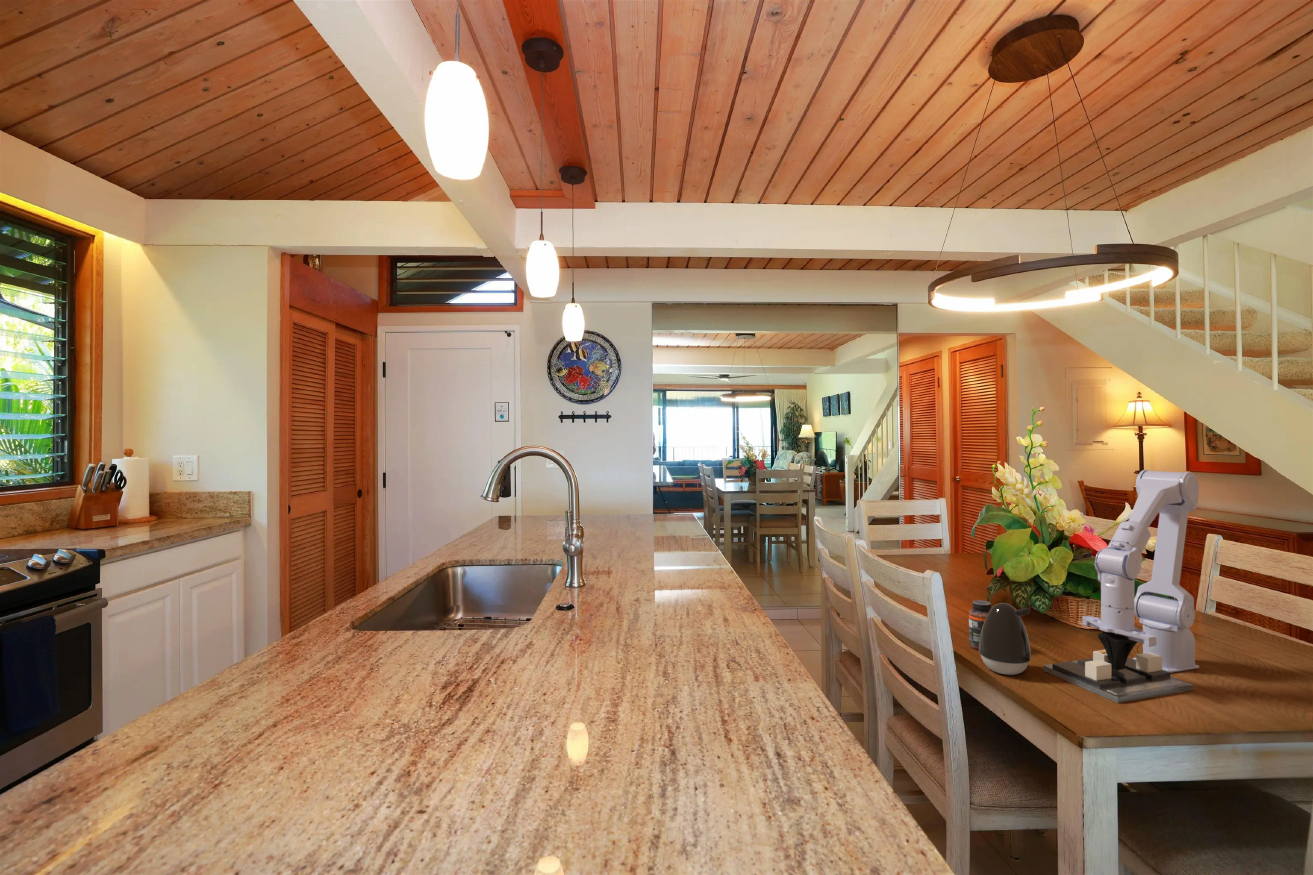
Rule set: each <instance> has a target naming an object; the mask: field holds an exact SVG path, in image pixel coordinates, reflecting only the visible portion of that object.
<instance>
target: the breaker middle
mask: <svg viewBox="0 0 1313 875" xmlns="http://www.w3.org/2000/svg"><path fill="white" fill-rule="evenodd" d="M1092 658H1093V661H1095V660H1102V661H1105V662H1107V663H1110V661H1109V658H1108V655H1107V652H1106V650H1105V649H1101V650H1094V651H1093V652H1092Z"/></svg>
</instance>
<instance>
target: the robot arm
mask: <svg viewBox="0 0 1313 875" xmlns="http://www.w3.org/2000/svg"><path fill="white" fill-rule="evenodd" d="M1135 490H1136V493H1137V498H1136V501H1135V503H1134V506H1133V509H1132V512H1131V514H1130V517H1128V518H1129V519H1128V520H1127V521H1126V520H1125V521H1122V522H1120V523H1119V526H1118V527H1117V529H1116V531H1115V532H1114V534H1113V536H1112V538H1111V540H1110V541H1109V543H1108V544H1107V545H1108V546H1107V547H1104V548H1102V549H1099V551H1098V552H1097V553H1096V556H1095V560H1094V569H1095V571H1096V573H1097V580H1098V582H1099V583H1100V617H1095V616H1092V615H1083V616H1082V626H1085V627H1092V628H1094V629H1098V630H1100V631H1102V632H1101V633H1098V635H1097V638H1098V639H1099V641H1100V643H1101V644H1102V646H1103V648H1104V650H1106V652H1107V655H1108V658H1109V661H1110V664H1111V668H1112V669H1115V670H1122V669H1124V667H1125V664H1126V661H1127V658H1128V657H1129V655H1130V653H1131V651H1132V650H1133V648H1134V647H1135V646H1137V644H1138V643H1140V644H1142V653H1149V652H1151V653H1154V654H1156V655H1159V656H1162V670H1165V671H1168V672H1170V673H1175V672H1182V671H1189V670H1195V669H1199V668H1200V665H1198V664H1196V638H1195V635H1194V633H1193V632H1192V631H1191V630H1190V628H1191V627H1192V626H1193V625H1194V621H1195V620H1196V612H1195V604H1194V603H1195V598H1194V596H1193V595H1192V594H1191V593H1190V592H1189V591H1188V590H1186V589H1185V588H1184V587H1182V586H1181V585H1180V581H1181V574H1182V566H1183V557H1184V549H1185V542H1186V535H1187V525H1188V517H1189V513H1190V512H1193V511H1195V510H1197V505H1198V501H1199V496H1200V484H1199V481H1198V478H1197V476H1196V475H1195V474H1194V473H1193V472H1191V471H1186V472H1185V471H1184V472H1183V471H1181V472H1179V471H1166V470H1165V471H1164V470H1163V471H1160V470H1148V469H1143V470H1141V471H1140V472H1139V473H1138V475H1137V476H1136V480H1135ZM1158 514H1159V517H1158V525H1157V533H1156V540H1155V546H1154V547H1155V548H1154V556H1153V564H1152V565H1153V566H1152V572H1151V580H1149V581H1147V582H1145V583H1142V584H1139V586H1137V590H1136V593H1135V579H1136V578H1137V577H1138V576H1139V575H1140V572H1141V568H1142V561H1143V559H1144V558H1143V555H1142V553H1143V552H1144V550H1145V548H1146V546H1147V545H1148V542H1149V540H1150V539H1151V532H1150V530H1149V527H1150V525H1151V524H1152V522H1153V521H1154V520H1155V519H1156V517H1157V515H1158ZM1156 594H1158V595H1156ZM1162 595H1163V596H1162ZM1166 596H1168V597H1166ZM1170 597H1172V598H1170ZM1135 617H1136V618H1137V620H1138V621H1139V623H1140V624H1142V630H1141V629H1139V628H1138V627H1136V626H1135ZM1132 659H1134V660H1136V657H1133V658H1132Z"/></svg>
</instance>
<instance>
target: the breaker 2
mask: <svg viewBox="0 0 1313 875" xmlns="http://www.w3.org/2000/svg"><path fill="white" fill-rule="evenodd" d="M1135 658H1136V668H1137V669H1140V670H1142V671H1145V672H1148V673H1149V672H1155V671H1162V656H1159V655H1156V654H1154V653H1151V652H1149V653H1143V652H1142V653H1137V654H1135Z"/></svg>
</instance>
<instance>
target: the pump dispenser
mask: <svg viewBox="0 0 1313 875" xmlns="http://www.w3.org/2000/svg"><path fill="white" fill-rule="evenodd" d="M1029 613H1031V609H1030V608H1029V607H1025V608H1021V609H1016V608H1015V607H1014V606H1013V605H1011V604H1009V603H1006V602H999V603H995V604H994V605H993V606H991V609H990V611H989V613H988V614H987V616H986V619H985V621H984V624H983V627H982V630H981V634H980V641H979V650H978V653H979V654H980V656H981V660H982V662H983V663H984V665H985V666H986V667H987V668H988V669H989V670H991V671H993V672H995V673H996V674H999V675H1005V676H1016V675H1019V674H1021V673H1023V672H1024V671H1025V670H1027V667H1028V666H1029V663H1030V661H1031V659H1032V656H1031V655H1032V654H1031V653H1032V652H1031V645H1030V640H1029V636H1028V633H1027V632H1028V631H1027V629H1026V625H1025V624H1024V622H1023V620H1022V618H1021V617H1023V616H1025V615H1027V614H1029Z"/></svg>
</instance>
